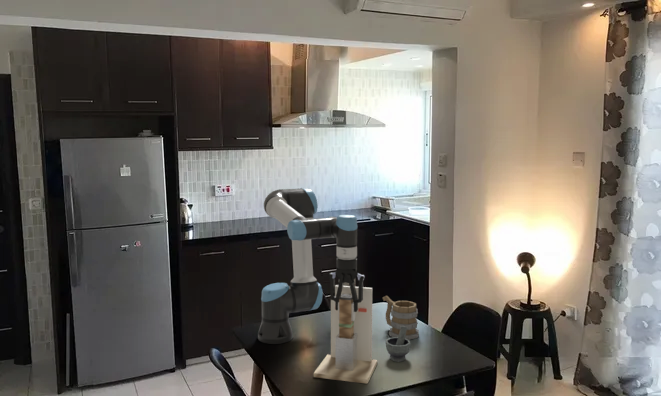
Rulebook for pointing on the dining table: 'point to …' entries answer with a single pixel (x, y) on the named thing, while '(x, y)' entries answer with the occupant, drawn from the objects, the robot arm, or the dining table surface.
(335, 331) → the board
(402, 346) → the mortar and pestle
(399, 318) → the tankard
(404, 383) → the dining table surface
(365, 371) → the birch base plate
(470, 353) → the dining table surface
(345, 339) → the metal sleeve
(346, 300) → the oak post
